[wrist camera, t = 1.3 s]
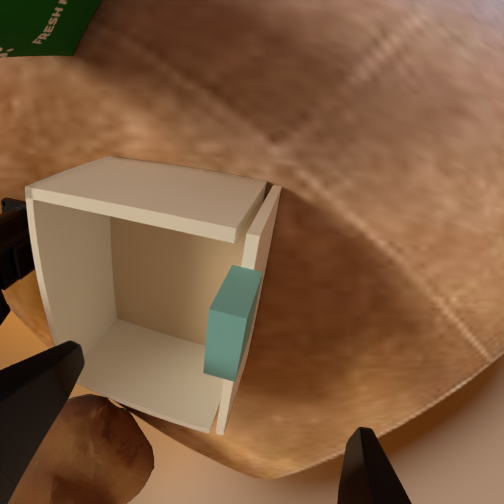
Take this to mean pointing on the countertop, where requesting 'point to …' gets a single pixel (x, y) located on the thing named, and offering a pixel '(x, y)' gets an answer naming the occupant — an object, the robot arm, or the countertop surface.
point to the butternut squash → (88, 457)
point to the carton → (140, 275)
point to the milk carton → (43, 26)
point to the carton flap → (239, 308)
